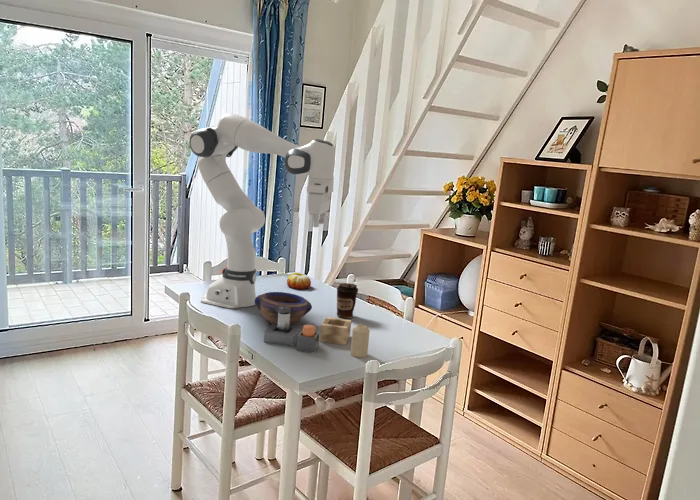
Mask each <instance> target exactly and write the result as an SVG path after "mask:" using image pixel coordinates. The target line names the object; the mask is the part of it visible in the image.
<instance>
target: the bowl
mask: <svg viewBox="0 0 700 500" xmlns="http://www.w3.org/2000/svg"><path fill="white" fill-rule="evenodd" d="M254 306H256V307H257V309H258V311H259V312H260V314H261V315H262V316H263V318H264V319H265V320H266V321H268V323H270V324H271V325H272V324H273V323H278V308H279V307H281V306H286V307H290V308H291V311H290V324H289V325H293V324H295V323H297V322H298V321H300V320H301V319H302V318H303V317H305V316H306V315H307V314H308V313H309V312H310V311H311V310H312V308H313V306H312V303H311V302H310V301H309V300H308V299H306V298H304V297H303V296H300V295H298V294H295V293H290V292H283V291H270V292H265V293H262V294H259V295H256V299H255V305H254Z"/></svg>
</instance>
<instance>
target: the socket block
mask: <svg viewBox="0 0 700 500" xmlns="http://www.w3.org/2000/svg"><path fill="white" fill-rule="evenodd" d="M277 325H278V323H273V324H272V323H271V325H270V326H269V327H268V328H267V329H266V330H265V331H263V333H264V334H263V335H264V336H263V343H268V344H274V343H275V344H276V345H281V344H282V345H283V346H288V345H290V347H294V346H295V344H297V336H298V334H299V333H300V332H301V330H302V326H299V325H293V324H291V325H289V333H286V332H279V331H277Z"/></svg>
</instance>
